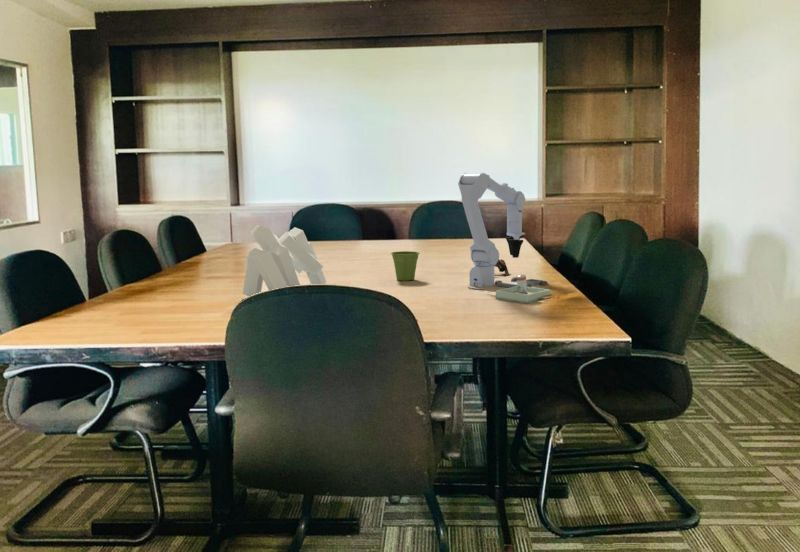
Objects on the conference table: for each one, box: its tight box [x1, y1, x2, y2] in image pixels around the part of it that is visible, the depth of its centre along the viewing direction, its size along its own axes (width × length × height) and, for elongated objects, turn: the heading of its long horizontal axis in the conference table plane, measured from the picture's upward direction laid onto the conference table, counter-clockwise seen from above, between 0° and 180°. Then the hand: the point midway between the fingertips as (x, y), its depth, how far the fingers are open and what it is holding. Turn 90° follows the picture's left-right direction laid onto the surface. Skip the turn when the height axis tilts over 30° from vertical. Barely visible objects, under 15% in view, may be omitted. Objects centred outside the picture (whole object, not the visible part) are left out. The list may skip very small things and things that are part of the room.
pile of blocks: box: [242, 224, 327, 297], centre depth 271 cm, size 35×30×35 cm
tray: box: [495, 286, 552, 305], centre depth 259 cm, size 14×14×3 cm
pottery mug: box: [494, 259, 510, 277], centre depth 315 cm, size 12×10×8 cm
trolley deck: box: [494, 276, 549, 288], centre depth 279 cm, size 15×15×3 cm
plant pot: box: [390, 250, 420, 282], centre depth 305 cm, size 12×12×11 cm
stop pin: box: [516, 274, 529, 294], centre depth 260 cm, size 3×3×7 cm
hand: (514, 256), depth 293 cm, fingers open, 7 cm apart
